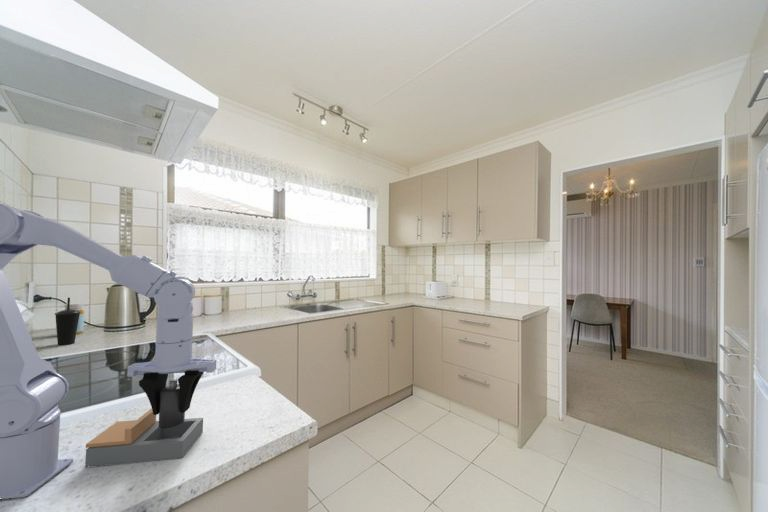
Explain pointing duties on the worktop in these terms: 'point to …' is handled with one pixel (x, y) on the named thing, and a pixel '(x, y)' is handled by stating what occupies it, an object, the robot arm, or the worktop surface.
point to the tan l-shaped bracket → (123, 431)
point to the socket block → (149, 445)
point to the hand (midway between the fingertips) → (172, 411)
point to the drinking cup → (67, 325)
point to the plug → (170, 406)
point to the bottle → (81, 318)
